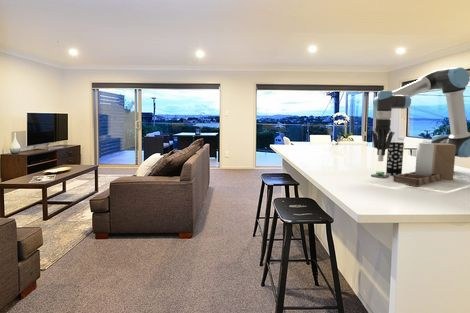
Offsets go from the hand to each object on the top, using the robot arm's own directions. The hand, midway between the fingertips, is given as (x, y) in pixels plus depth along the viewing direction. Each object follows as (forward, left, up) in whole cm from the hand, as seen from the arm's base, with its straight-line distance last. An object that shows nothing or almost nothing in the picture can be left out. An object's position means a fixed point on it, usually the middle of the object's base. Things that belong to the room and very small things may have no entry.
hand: (380, 161), depth 198 cm
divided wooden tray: (-6, +18, -10) cm, 22 cm away
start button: (0, 0, -9) cm, 9 cm away
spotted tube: (-13, +1, -10) cm, 17 cm away
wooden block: (-26, +21, -10) cm, 35 cm away
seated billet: (-12, +18, -9) cm, 24 cm away
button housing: (0, 0, -10) cm, 10 cm away
